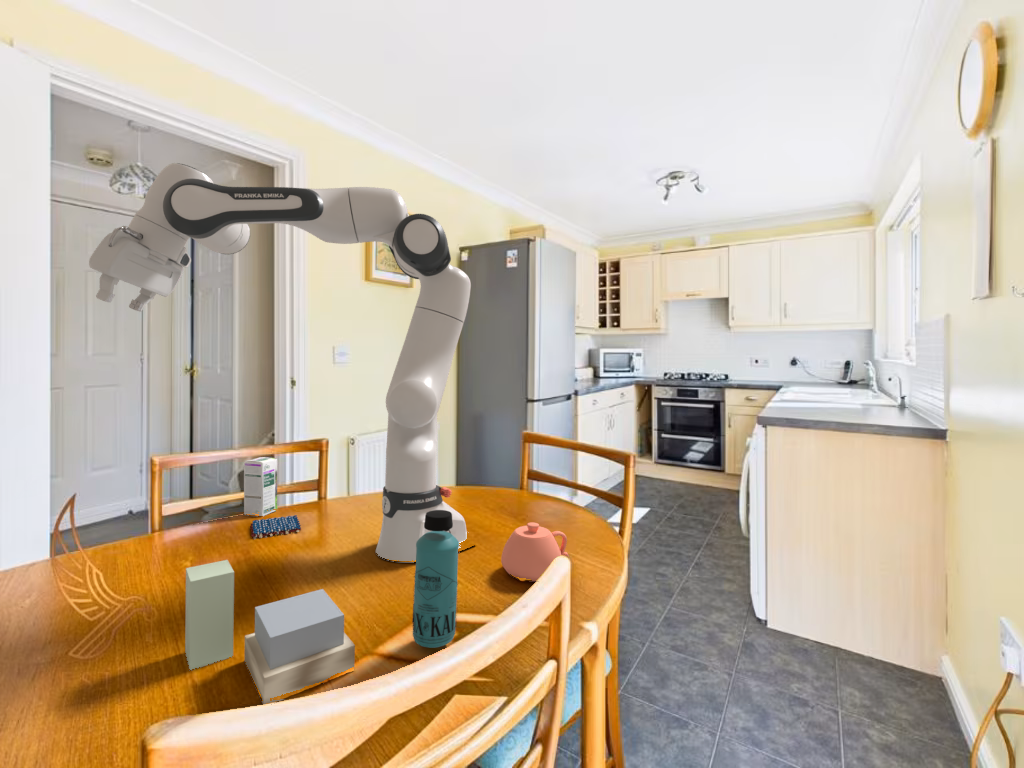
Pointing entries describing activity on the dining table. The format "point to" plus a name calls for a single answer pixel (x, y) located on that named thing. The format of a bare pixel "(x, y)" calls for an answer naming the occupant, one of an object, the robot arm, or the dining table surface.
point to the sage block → (209, 613)
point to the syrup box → (260, 486)
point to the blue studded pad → (275, 526)
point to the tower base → (296, 668)
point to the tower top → (298, 627)
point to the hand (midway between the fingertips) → (119, 305)
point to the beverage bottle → (435, 582)
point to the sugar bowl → (531, 551)
